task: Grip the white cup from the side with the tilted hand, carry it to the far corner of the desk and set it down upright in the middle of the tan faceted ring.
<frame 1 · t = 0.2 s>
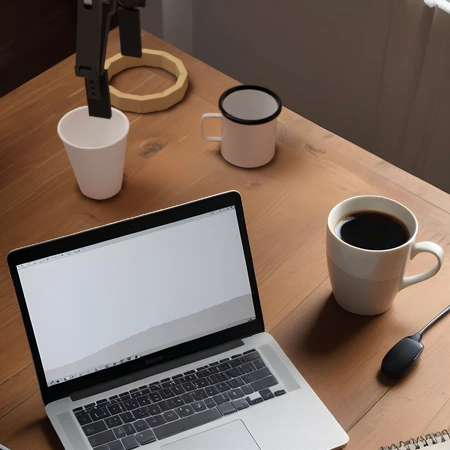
hand: (116, 84, 106), 20 cm above the table, tool pointing down, fingers open, 13 cm apart
mug: (239, 152, 130), on the table
cup: (101, 188, 124), on the table
tan faceted ring: (143, 86, 140), on the table
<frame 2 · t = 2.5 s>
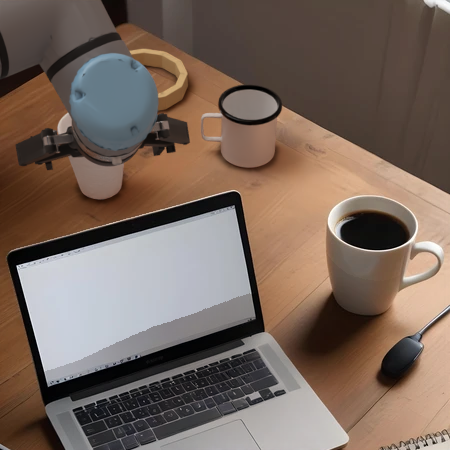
hand: (102, 152, 106), 15 cm above the table, tool tilted 45°, fingers open, 13 cm apart
nothing on the table moved.
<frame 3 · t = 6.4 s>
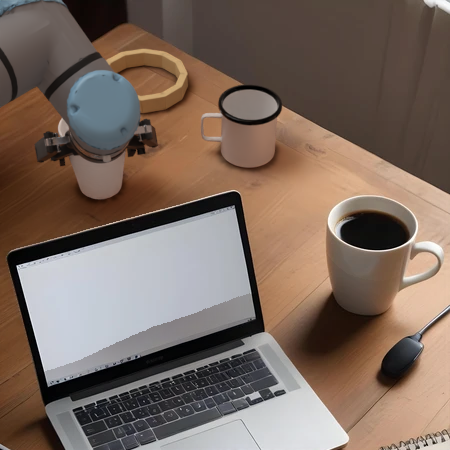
hand: (95, 152, 122), 4 cm above the table, tool tilted 45°, fingers closed on cup, 9 cm apart
cup: (101, 188, 124), on the table, touching gripper
everything else where it was.
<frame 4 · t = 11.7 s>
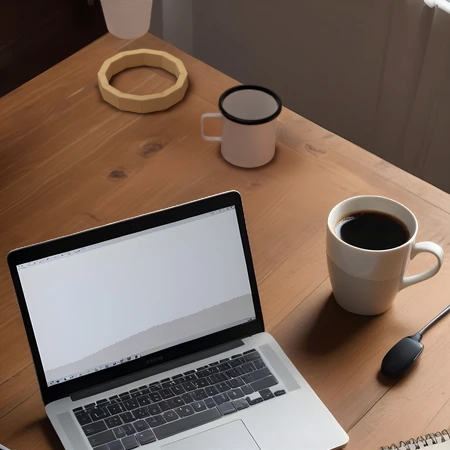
cup: (128, 30, 124), point 15 cm above the table, touching gripper
everything else where it was.
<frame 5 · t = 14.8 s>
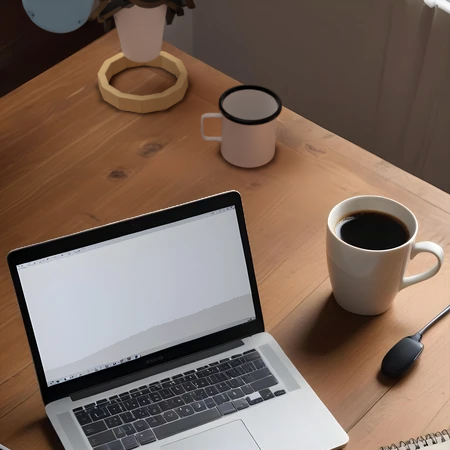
hand: (137, 19, 134), 10 cm above the table, tool tilted 45°, fingers closed on cup, 9 cm apart
cup: (141, 54, 135), point 6 cm above the table, touching gripper
everything else where it was.
when the fingers open (4 cm above the table, at t = 17.1 s): cup stays where it is, resting in tan faceted ring.
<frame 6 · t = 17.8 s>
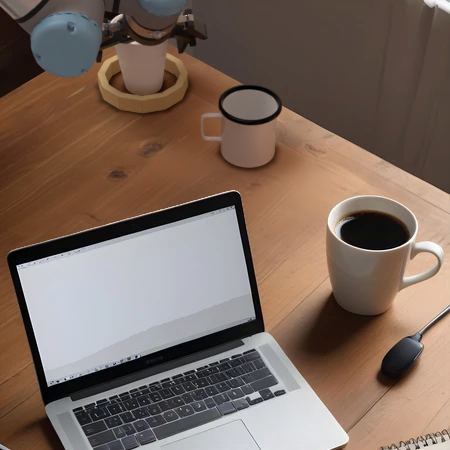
hand: (138, 49, 137), 6 cm above the table, tool tilted 45°, fingers open, 13 cm apart
cup: (144, 87, 140), resting in tan faceted ring
everything else where it was.
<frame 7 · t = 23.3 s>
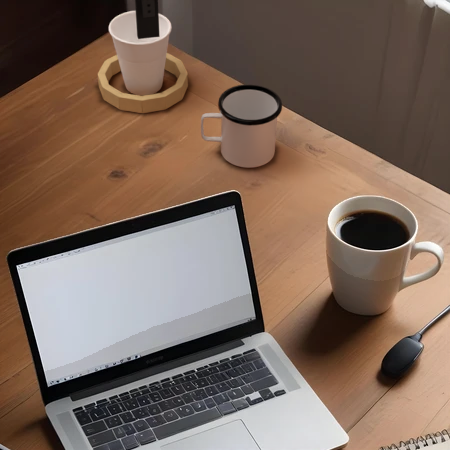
hand: (139, 8, 109), 25 cm above the table, tool pointing down, fingers open, 13 cm apart
nothing on the table moved.
at the end: cup 0.1 cm off-centre on the tan faceted ring, point 0.0 cm above the tan faceted ring's base; cup tilted 0°; the gripper is holding nothing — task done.
